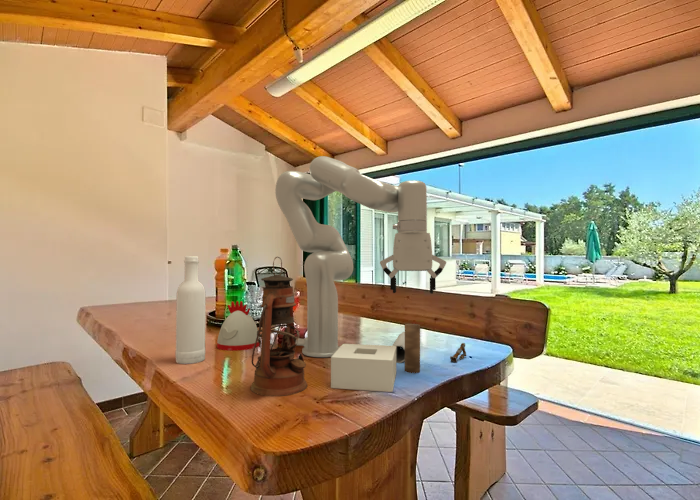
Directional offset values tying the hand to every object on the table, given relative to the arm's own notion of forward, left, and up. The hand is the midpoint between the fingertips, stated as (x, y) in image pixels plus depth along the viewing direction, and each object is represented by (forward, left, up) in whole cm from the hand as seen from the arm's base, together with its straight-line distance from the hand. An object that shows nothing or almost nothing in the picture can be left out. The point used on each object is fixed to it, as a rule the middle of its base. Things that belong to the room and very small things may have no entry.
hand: (412, 292), depth 102 cm
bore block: (-11, -10, -21) cm, 25 cm away
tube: (-4, +20, -21) cm, 29 cm away
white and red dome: (-58, +18, -21) cm, 64 cm away
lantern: (-30, -18, -21) cm, 41 cm away
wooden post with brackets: (+13, +14, -21) cm, 28 cm away
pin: (0, 0, -21) cm, 21 cm away
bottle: (-63, -2, -21) cm, 66 cm away
